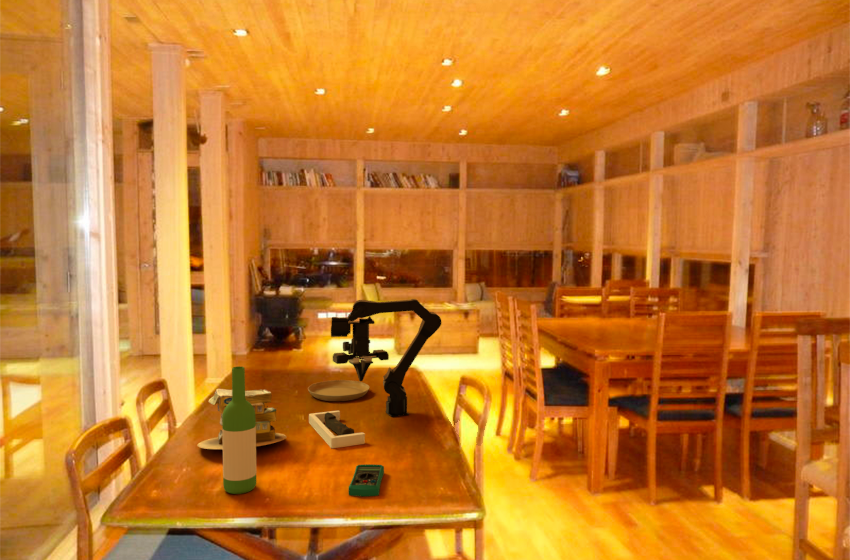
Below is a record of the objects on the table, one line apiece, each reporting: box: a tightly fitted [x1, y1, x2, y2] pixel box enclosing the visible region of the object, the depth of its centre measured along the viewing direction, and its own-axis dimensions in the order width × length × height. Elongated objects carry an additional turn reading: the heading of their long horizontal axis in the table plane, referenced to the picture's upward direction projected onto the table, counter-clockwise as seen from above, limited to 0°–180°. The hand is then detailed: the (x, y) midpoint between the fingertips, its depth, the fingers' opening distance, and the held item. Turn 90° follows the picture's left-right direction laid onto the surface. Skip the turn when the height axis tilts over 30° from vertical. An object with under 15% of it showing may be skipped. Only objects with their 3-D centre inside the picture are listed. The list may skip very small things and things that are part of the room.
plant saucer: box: [307, 379, 370, 402], centre depth 235 cm, size 24×24×3 cm
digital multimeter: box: [348, 463, 385, 497], centre depth 149 cm, size 7×15×3 cm, turn 179°
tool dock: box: [308, 410, 366, 449], centre depth 189 cm, size 10×27×3 cm, turn 25°
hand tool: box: [324, 411, 355, 436], centre depth 189 cm, size 19×4×5 cm, turn 29°
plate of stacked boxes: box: [197, 388, 287, 450], centre depth 175 cm, size 25×25×17 cm
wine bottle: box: [221, 365, 257, 495], centre depth 145 cm, size 8×8×30 cm
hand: (360, 381), depth 207 cm, fingers closed
